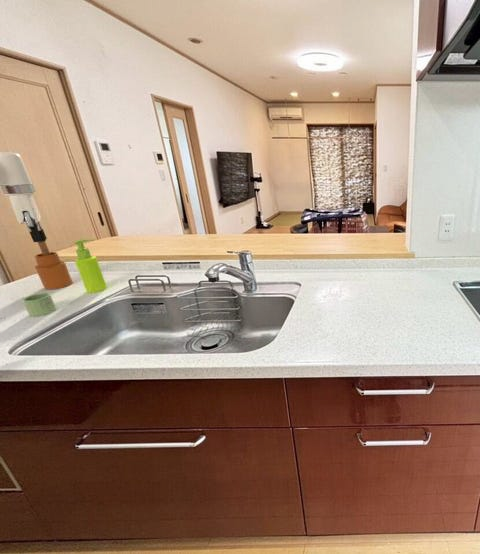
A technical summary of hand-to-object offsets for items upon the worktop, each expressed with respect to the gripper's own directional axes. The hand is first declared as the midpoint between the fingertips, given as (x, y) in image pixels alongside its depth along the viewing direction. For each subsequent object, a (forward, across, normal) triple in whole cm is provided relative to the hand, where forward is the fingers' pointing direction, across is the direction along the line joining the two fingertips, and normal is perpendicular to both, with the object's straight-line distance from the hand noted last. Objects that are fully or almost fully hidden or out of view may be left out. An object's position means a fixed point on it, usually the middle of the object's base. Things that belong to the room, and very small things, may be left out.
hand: (40, 240), depth 111 cm
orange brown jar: (+18, 0, 0) cm, 18 cm away
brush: (+13, 0, 0) cm, 13 cm away
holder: (+18, +28, -2) cm, 34 cm away
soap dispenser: (+19, +16, +12) cm, 27 cm away
